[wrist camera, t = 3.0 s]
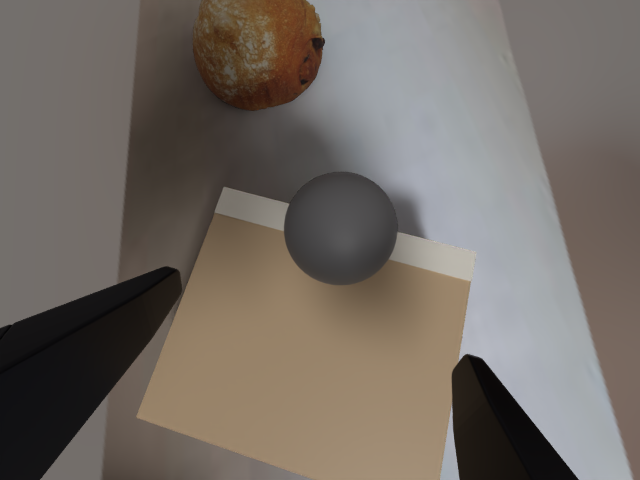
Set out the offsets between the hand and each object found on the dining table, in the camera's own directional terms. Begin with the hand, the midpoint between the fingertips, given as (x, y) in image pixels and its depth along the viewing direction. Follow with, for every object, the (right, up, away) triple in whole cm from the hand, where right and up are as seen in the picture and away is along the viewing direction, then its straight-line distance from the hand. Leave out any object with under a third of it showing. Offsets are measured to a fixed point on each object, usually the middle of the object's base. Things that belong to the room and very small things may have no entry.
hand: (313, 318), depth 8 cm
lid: (0, -2, +6) cm, 6 cm away
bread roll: (-5, +18, +16) cm, 24 cm away
